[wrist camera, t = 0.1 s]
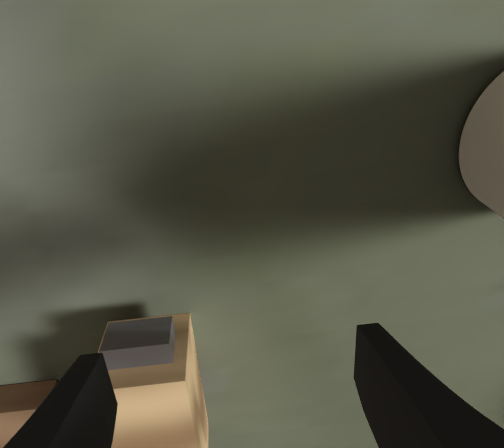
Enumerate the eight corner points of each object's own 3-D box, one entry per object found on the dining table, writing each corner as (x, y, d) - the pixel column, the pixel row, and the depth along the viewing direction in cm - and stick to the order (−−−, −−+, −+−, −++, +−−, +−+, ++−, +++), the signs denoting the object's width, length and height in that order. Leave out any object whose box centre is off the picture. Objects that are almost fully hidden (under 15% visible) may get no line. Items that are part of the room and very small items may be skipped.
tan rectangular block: (208, 421, 28) (207, 499, 24) (138, 429, 28) (124, 509, 23) (186, 293, 23) (181, 361, 19) (103, 302, 23) (77, 372, 19)
